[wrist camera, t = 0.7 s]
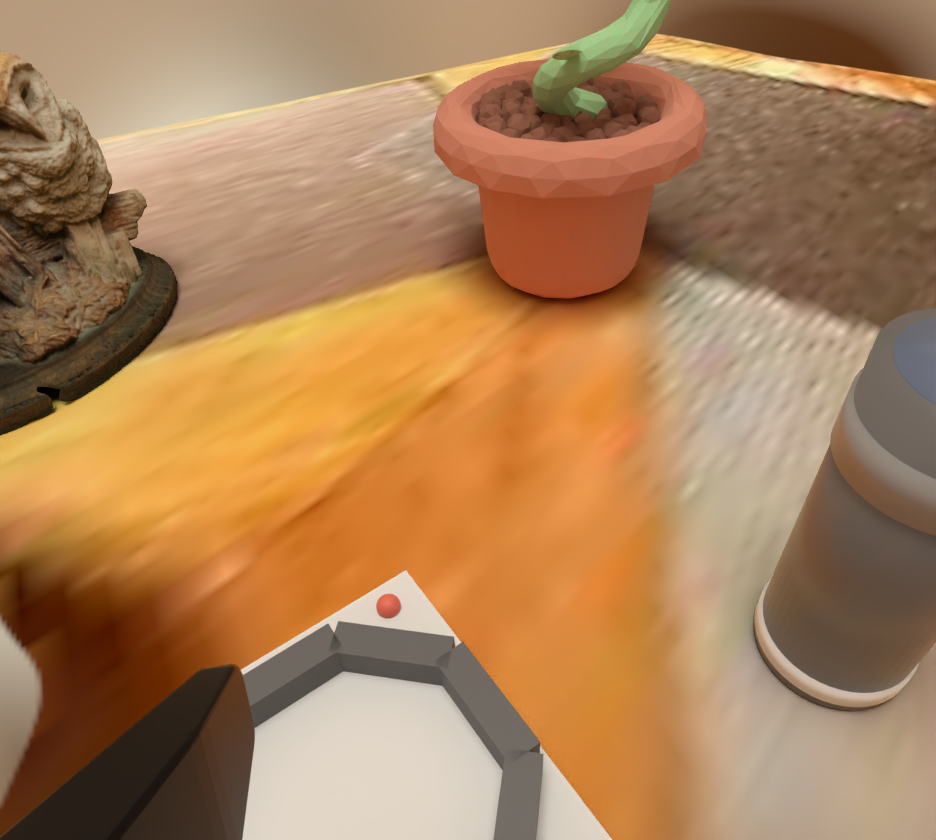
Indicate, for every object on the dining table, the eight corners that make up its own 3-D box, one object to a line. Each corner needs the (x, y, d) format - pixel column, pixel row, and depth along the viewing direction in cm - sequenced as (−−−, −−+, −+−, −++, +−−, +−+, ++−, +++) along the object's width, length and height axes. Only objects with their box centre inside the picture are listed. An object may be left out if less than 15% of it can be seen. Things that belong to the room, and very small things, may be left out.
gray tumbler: (937, 656, 25) (1169, 380, 16) (845, 745, 23) (1052, 487, 14) (810, 558, 28) (946, 279, 19) (720, 629, 26) (825, 357, 17)
